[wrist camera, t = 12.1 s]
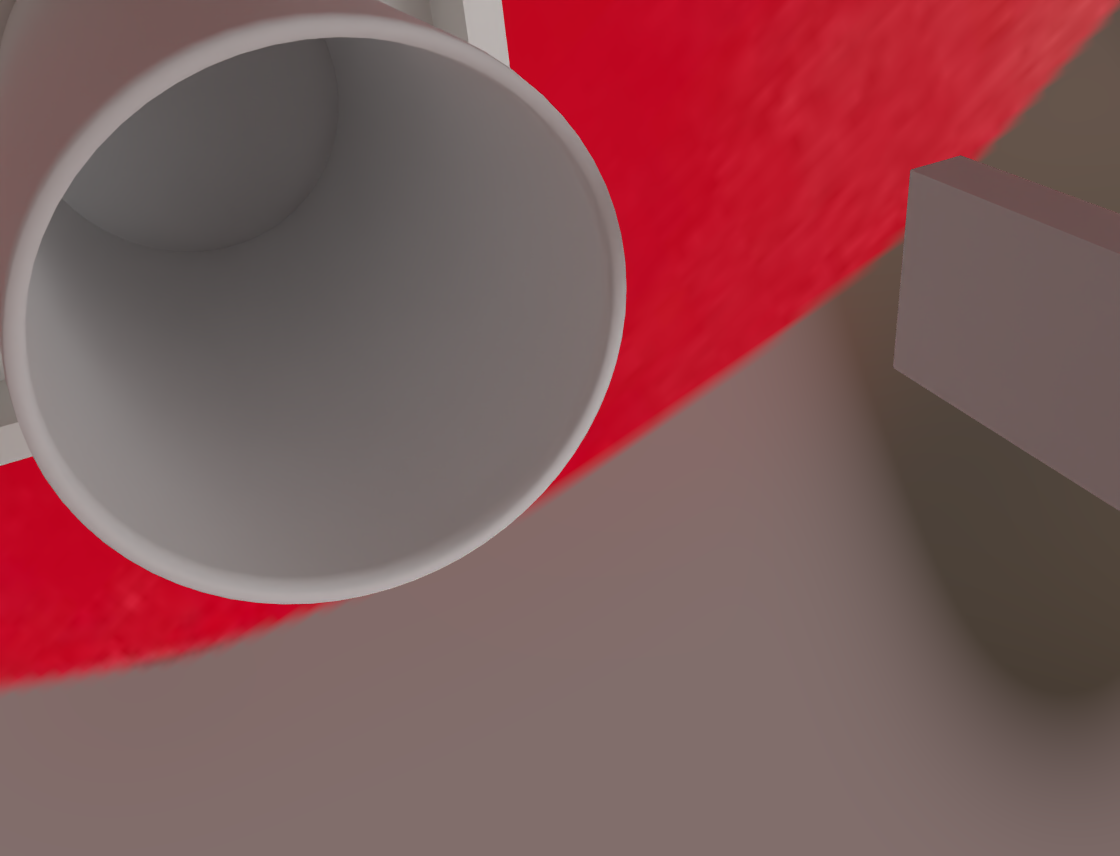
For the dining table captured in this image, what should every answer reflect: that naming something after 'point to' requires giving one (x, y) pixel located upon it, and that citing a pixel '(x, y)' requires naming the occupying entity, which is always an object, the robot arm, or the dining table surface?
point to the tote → (446, 3)
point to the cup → (294, 287)
